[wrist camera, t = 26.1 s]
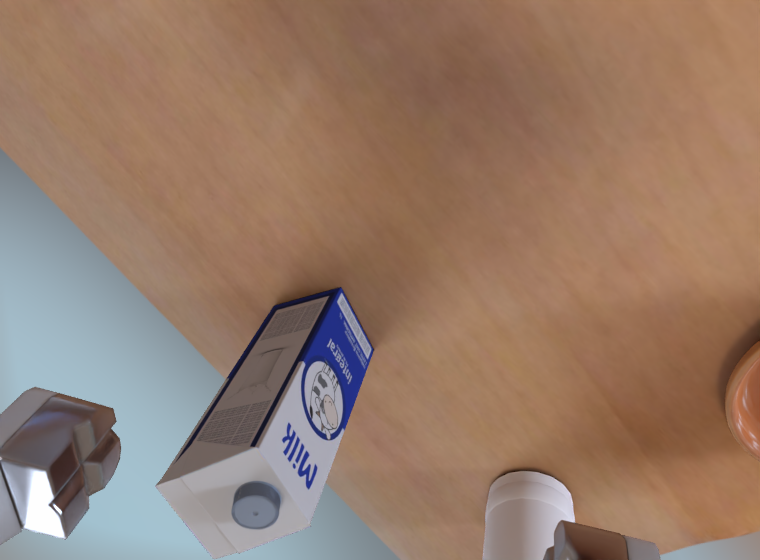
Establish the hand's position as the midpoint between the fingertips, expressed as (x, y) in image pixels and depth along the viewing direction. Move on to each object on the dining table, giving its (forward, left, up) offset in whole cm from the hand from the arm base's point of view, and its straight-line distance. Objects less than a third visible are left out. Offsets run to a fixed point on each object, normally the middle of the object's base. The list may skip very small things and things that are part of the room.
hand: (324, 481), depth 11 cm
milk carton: (-9, -24, -34) cm, 43 cm away
